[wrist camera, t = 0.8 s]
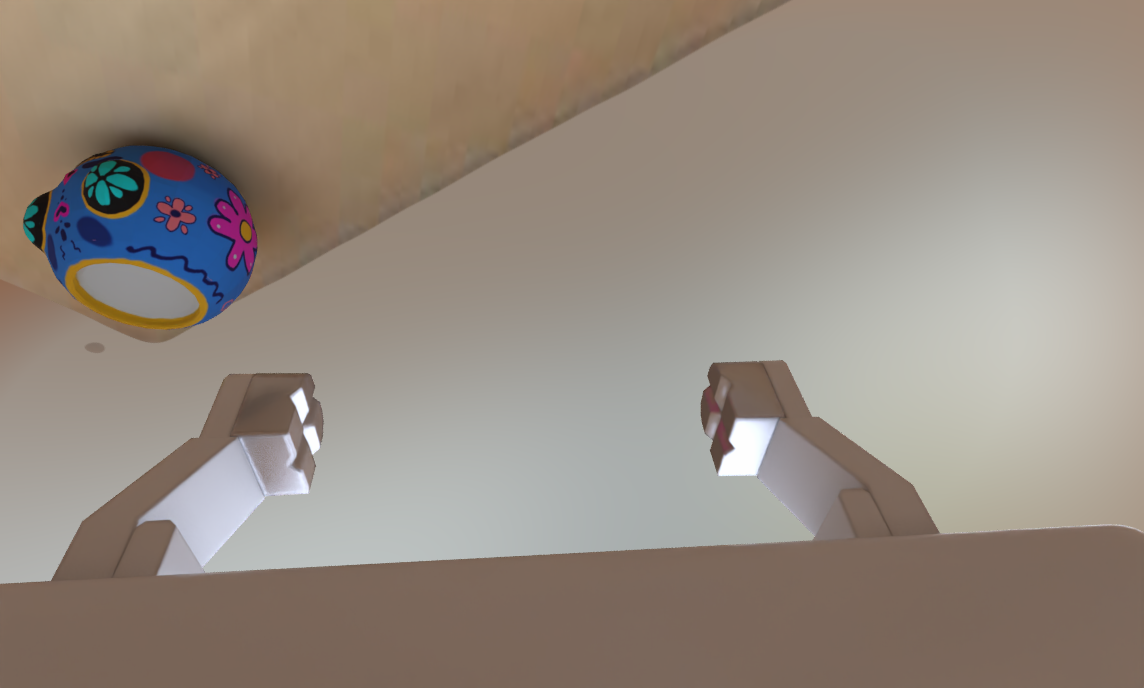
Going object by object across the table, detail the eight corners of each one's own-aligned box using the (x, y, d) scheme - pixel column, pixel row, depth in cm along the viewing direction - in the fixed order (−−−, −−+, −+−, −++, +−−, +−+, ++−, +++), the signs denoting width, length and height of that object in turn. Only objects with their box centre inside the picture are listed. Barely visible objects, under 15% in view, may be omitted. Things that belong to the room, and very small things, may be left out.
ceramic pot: (157, 80, 59) (104, 206, 51) (306, 203, 73) (282, 317, 65) (35, 152, 65) (-29, 275, 57) (194, 253, 79) (160, 362, 71)
